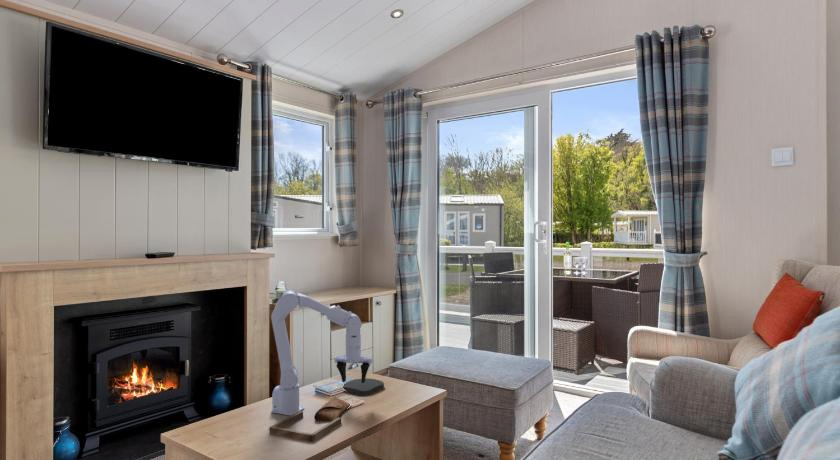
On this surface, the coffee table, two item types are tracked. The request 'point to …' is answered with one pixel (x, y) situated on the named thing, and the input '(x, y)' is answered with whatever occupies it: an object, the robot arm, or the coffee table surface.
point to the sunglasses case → (331, 410)
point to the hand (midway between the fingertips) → (353, 381)
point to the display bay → (280, 430)
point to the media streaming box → (363, 386)
